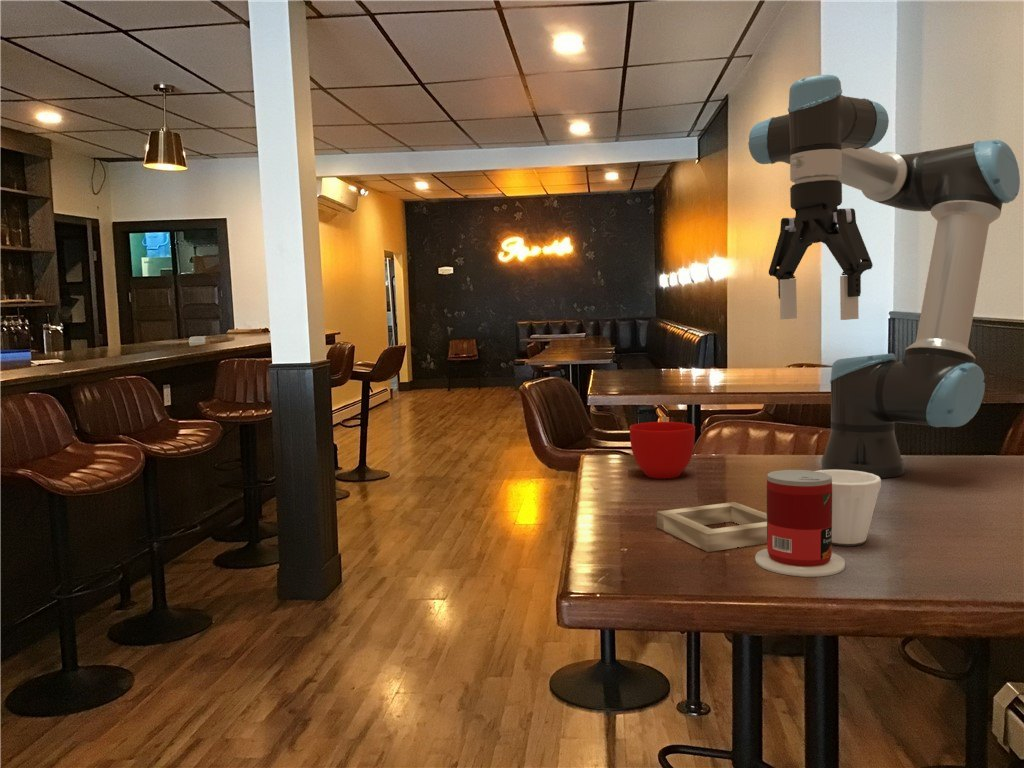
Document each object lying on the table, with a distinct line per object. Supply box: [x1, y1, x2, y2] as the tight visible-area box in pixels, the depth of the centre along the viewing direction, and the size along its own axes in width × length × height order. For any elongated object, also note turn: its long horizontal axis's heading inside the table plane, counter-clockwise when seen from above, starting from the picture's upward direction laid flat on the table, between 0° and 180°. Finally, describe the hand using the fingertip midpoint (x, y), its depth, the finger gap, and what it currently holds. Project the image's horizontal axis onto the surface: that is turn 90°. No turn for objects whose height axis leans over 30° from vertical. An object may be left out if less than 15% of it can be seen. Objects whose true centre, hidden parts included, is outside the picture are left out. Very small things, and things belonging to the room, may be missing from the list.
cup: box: [816, 469, 882, 547], centre depth 114 cm, size 10×10×9 cm
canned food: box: [766, 469, 833, 566], centre depth 105 cm, size 8×8×11 cm
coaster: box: [754, 548, 846, 578], centre depth 105 cm, size 11×11×1 cm
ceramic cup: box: [629, 421, 696, 480], centre depth 164 cm, size 13×17×10 cm
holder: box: [656, 501, 767, 553], centre depth 120 cm, size 14×14×2 cm
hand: (817, 319), depth 127 cm, fingers open, 13 cm apart
